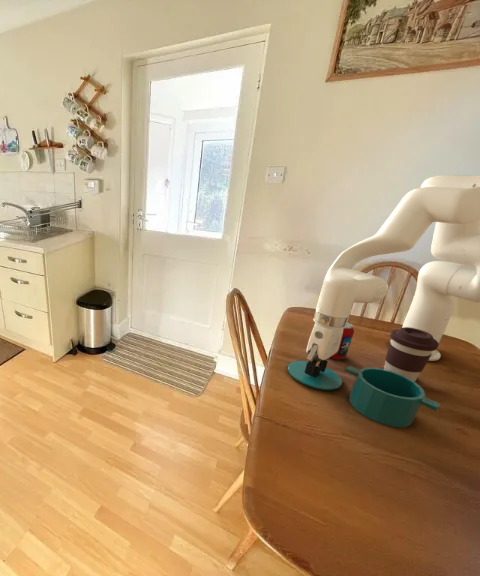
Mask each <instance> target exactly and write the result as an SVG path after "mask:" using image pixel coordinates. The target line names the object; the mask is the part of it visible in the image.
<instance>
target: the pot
mask: <svg viewBox="0 0 480 576" xmlns="http://www.w3.org/2000/svg"><path fill="white" fill-rule="evenodd" d="M344 372H345V373H348V374H350V375H353V376H354V377H355V379H354V382H353V385H352V388H351V391H350V393H349V397H348V400H349V403H350V404H351V406H352V407H353V408H354V409H355V410H356V411H357V412H358V413H360V414H361V415H363V416H365V417H366V418H368V419H370V420H372V421H374V422H377V423H379V424H381V425H385V426H389V427H393V428H407V427H409V426H411V425H412V424H413V422H414V421H415V419H416V416H417V414H418V413H419V410H420V408H421V406H422V407H423V406H424V407H426V408H428V409H430V410H433V411H435V412H436V411H437V410H438V409H439V407H440V405H441V403H440V402H438V401H435V400H432V399H430V398H428V397H426V393H425V389H424V388H423V387H422V386H420V385H419V384H418V383H417V382H416V381H415V382H414V381H412V380H411V379H409V378H407V377H405V376H403V375H400V374H398V373H395V372H393V371H389V370H385V369H384V368H379V367H372V366H369V367H362V368H361V369H359V368H357V367H354V366H352V365H348V366H347V367H346V368H345V370H344Z"/></svg>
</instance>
